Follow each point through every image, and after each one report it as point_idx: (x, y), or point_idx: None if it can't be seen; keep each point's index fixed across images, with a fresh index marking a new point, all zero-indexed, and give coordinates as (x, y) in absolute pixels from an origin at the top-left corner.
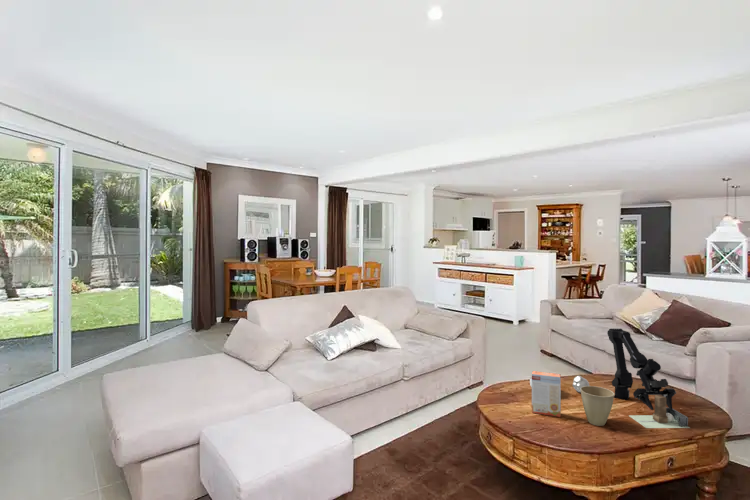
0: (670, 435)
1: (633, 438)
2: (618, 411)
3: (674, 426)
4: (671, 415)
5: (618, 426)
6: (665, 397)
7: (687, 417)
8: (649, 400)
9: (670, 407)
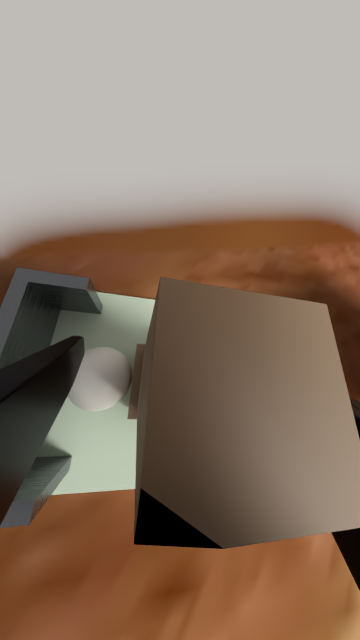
0: (204, 262)
1: (332, 271)
2: (311, 584)
3: (131, 311)
4: (91, 355)
5: (354, 358)
6: (169, 299)
7: (22, 268)
8: (357, 413)
9: (75, 353)
